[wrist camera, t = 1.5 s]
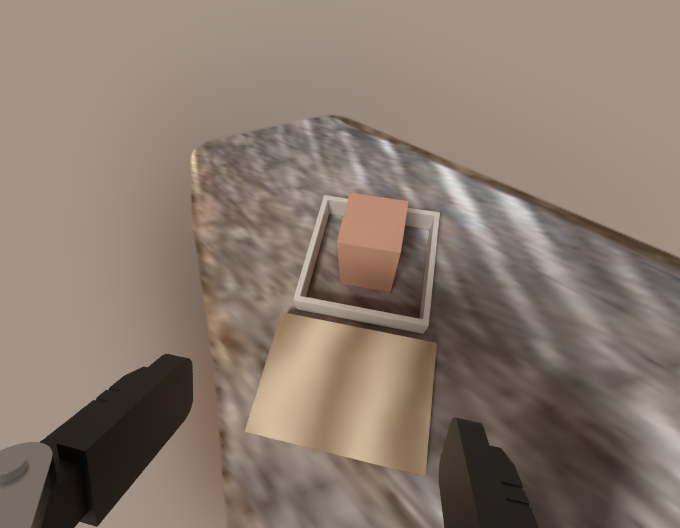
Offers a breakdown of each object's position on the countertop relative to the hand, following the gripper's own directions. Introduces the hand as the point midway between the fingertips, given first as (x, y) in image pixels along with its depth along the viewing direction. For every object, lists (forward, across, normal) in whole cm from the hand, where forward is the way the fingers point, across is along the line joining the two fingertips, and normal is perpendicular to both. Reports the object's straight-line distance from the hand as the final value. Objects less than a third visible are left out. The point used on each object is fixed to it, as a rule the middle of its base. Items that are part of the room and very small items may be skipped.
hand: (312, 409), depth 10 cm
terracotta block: (+25, 0, +3) cm, 25 cm away
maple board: (+16, 0, +12) cm, 20 cm away
